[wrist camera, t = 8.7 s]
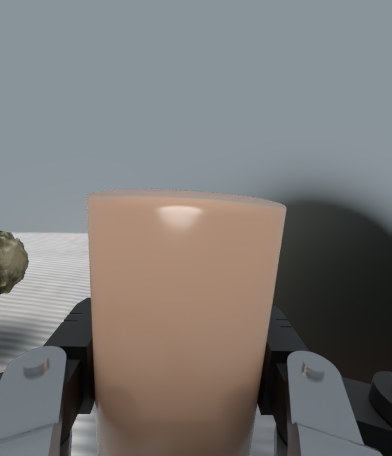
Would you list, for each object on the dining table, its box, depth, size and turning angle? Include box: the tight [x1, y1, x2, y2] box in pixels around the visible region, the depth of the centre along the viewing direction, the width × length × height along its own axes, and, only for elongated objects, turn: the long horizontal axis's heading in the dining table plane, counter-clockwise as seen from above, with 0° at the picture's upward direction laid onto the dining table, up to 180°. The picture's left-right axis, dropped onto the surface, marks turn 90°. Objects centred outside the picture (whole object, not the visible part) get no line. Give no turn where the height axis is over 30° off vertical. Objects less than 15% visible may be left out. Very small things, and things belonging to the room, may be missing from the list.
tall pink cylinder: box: [87, 189, 286, 456], centre depth 8 cm, size 5×5×12 cm
